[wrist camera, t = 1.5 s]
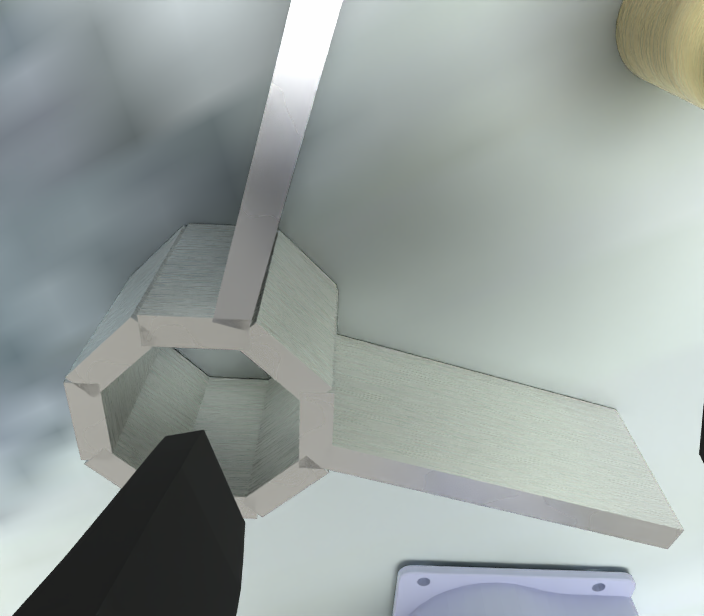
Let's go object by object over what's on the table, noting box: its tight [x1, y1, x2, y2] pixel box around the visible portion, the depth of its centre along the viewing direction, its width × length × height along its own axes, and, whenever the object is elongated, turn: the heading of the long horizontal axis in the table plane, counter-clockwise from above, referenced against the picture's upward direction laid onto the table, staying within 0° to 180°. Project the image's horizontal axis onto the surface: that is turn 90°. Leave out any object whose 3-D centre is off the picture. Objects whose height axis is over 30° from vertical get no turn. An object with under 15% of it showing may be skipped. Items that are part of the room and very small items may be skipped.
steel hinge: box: [64, 0, 684, 549], centre depth 15 cm, size 16×16×5 cm
